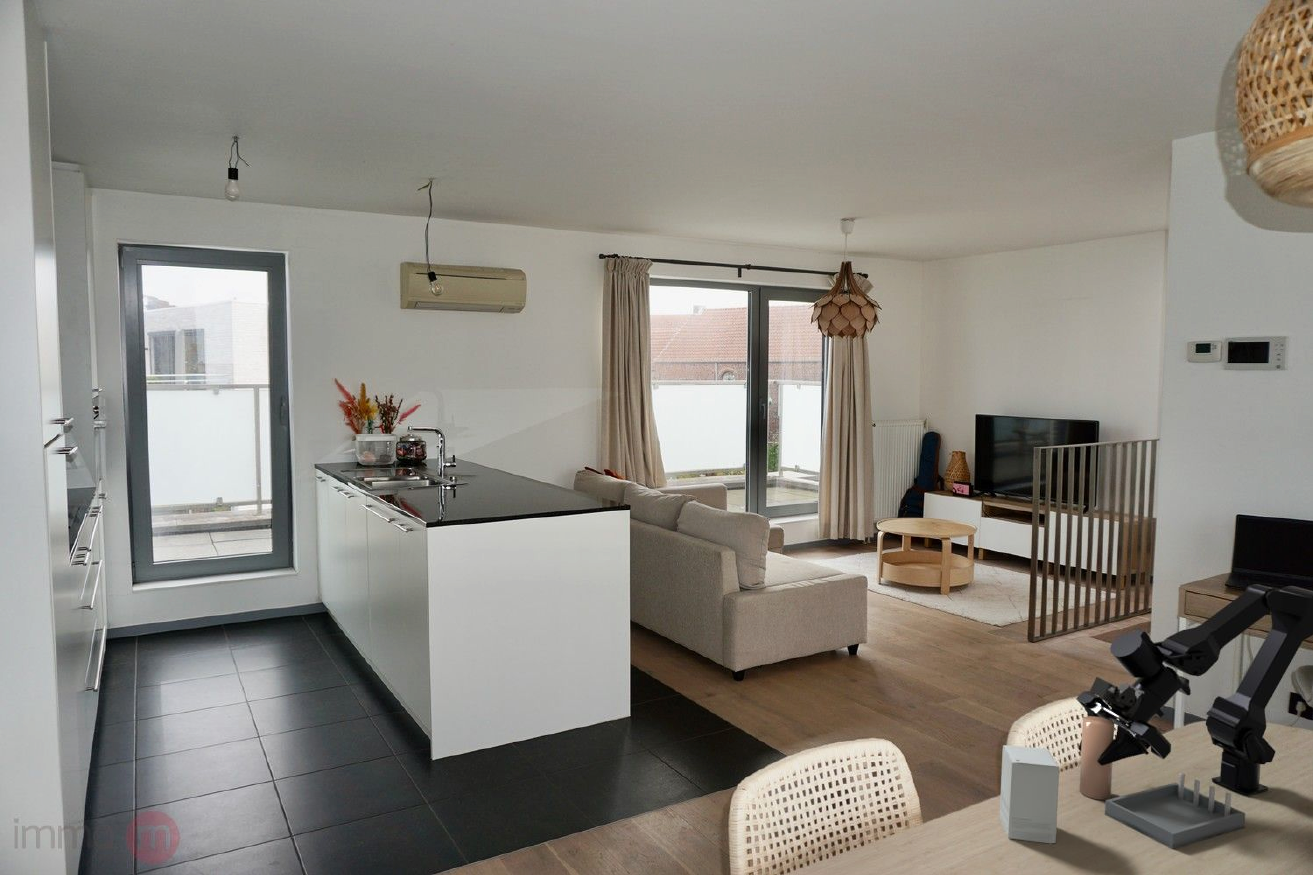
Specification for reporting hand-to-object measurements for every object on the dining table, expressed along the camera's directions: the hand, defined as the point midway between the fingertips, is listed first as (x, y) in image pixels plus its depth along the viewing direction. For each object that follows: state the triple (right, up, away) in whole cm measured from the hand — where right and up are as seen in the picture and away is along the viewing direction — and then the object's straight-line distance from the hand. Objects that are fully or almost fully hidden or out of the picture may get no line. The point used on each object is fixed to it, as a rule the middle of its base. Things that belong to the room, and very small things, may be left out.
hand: (1089, 756), depth 154 cm
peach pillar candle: (+1, -7, +1) cm, 7 cm away
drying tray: (+10, -8, -9) cm, 15 cm away
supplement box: (-17, -7, -13) cm, 23 cm away
